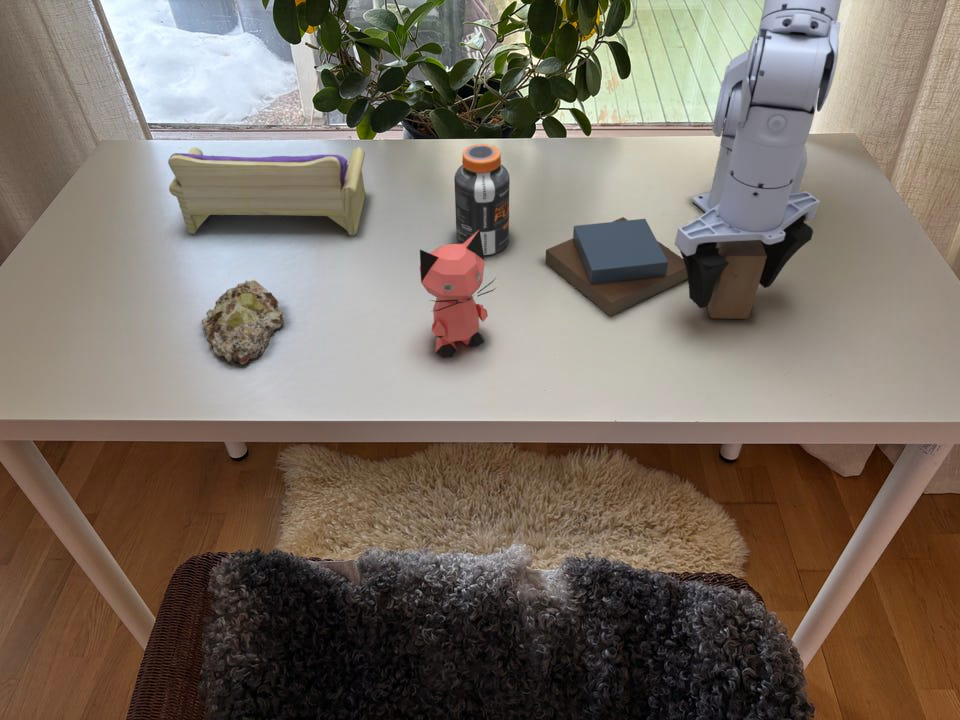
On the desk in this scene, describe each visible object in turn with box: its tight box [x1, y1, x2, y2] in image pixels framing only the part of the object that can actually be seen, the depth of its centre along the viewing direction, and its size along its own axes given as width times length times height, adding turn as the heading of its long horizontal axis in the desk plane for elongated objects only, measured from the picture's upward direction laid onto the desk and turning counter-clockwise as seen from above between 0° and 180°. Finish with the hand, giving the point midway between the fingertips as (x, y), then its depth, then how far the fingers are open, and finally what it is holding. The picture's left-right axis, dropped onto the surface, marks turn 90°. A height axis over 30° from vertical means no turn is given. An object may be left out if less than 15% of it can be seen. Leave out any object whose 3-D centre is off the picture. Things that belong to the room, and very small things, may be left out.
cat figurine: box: [419, 230, 498, 359], centre depth 72 cm, size 7×7×12 cm
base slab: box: [544, 216, 688, 317], centre depth 83 cm, size 11×11×2 cm
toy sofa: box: [167, 146, 366, 237], centre depth 89 cm, size 21×9×10 cm, turn 88°
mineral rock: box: [201, 280, 285, 366], centre depth 77 cm, size 11×4×8 cm
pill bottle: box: [453, 143, 511, 256], centre depth 84 cm, size 6×6×11 cm
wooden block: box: [706, 240, 767, 320], centre depth 76 cm, size 4×4×8 cm
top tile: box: [572, 218, 668, 284], centre depth 82 cm, size 8×8×2 cm
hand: (729, 291), depth 78 cm, fingers open, 7 cm apart
